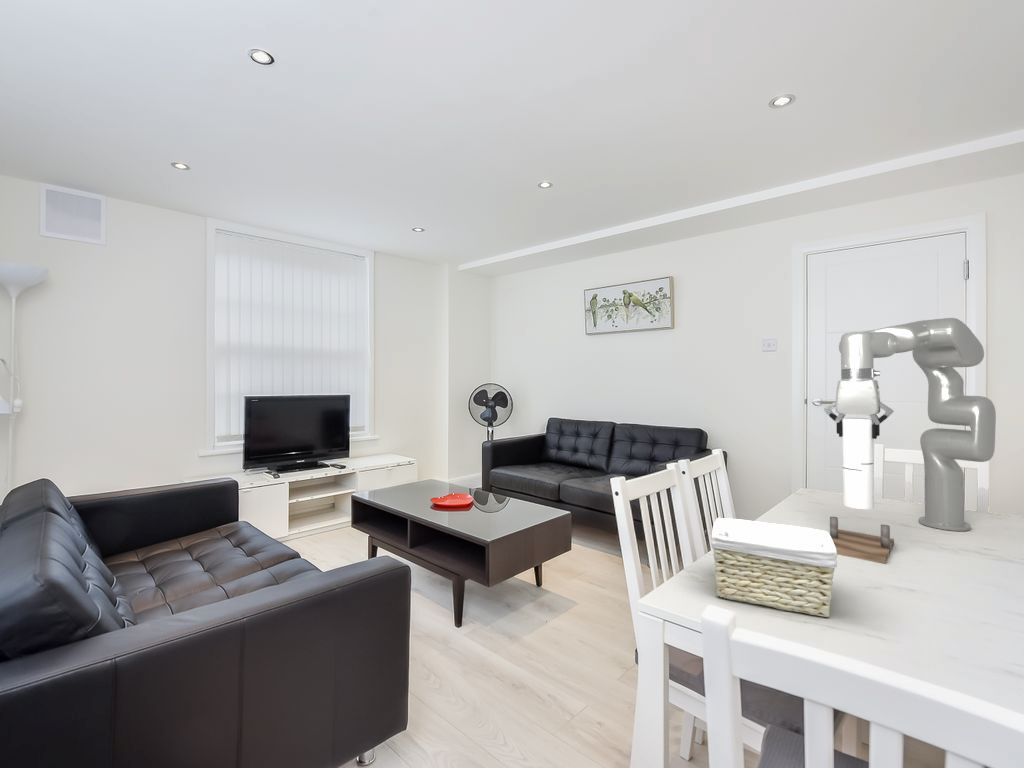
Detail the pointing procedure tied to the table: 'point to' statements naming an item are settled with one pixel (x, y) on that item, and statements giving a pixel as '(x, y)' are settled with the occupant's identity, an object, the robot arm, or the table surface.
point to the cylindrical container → (858, 463)
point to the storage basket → (774, 565)
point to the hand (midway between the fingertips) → (857, 436)
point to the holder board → (862, 543)
